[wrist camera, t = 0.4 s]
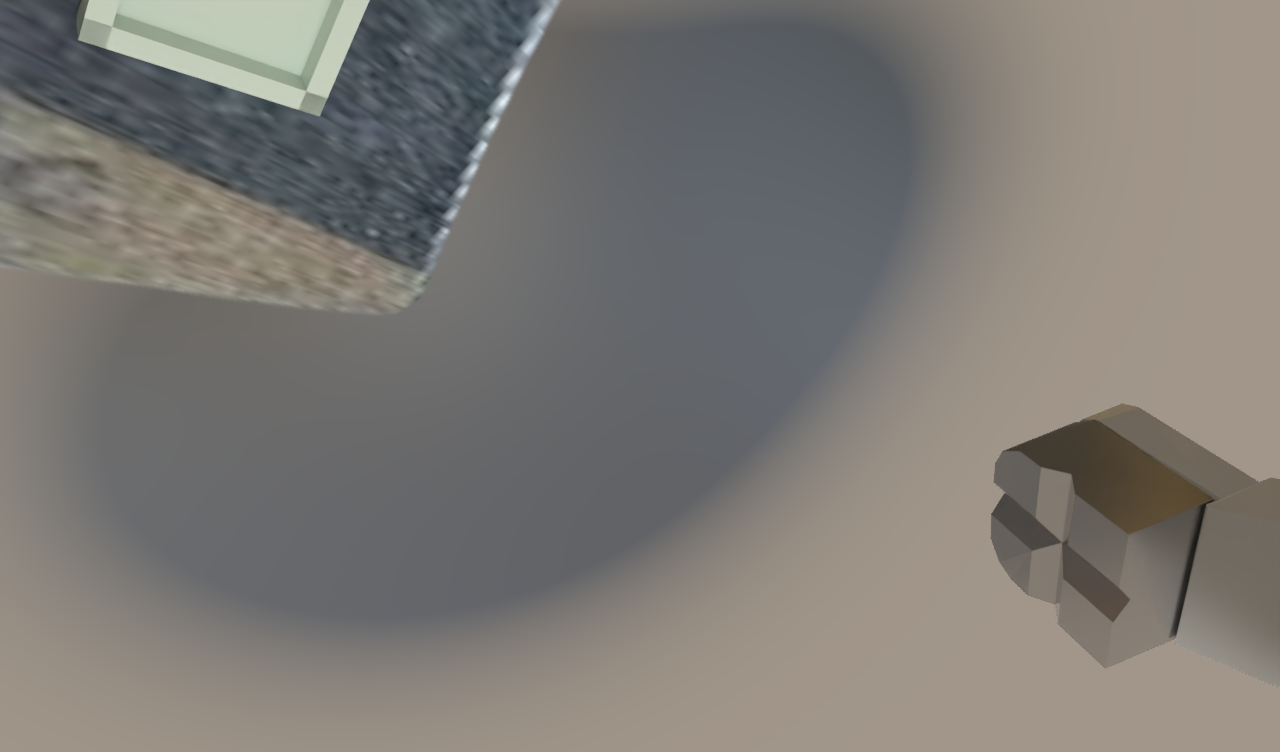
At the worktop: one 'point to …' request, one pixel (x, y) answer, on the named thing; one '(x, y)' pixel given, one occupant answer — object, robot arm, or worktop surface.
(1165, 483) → the robot arm
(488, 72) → the worktop surface
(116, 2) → the tray
